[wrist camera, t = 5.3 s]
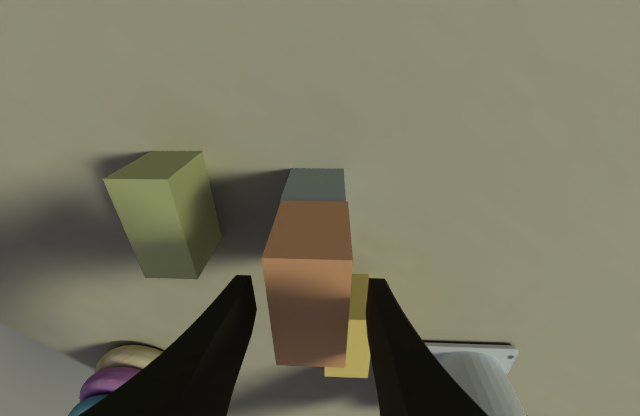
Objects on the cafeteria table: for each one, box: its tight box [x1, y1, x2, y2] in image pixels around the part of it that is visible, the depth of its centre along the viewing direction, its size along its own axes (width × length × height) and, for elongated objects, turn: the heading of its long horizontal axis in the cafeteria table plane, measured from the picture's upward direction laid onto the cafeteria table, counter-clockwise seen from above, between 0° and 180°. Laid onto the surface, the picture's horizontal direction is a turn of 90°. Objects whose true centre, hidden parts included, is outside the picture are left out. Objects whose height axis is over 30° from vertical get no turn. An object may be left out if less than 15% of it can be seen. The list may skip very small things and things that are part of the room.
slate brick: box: [280, 168, 346, 203], centre depth 16 cm, size 6×3×4 cm, turn 1°
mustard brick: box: [325, 274, 371, 378], centre depth 20 cm, size 6×3×4 cm, turn 1°
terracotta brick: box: [262, 200, 353, 368], centre depth 12 cm, size 6×3×4 cm, turn 0°
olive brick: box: [103, 151, 222, 279], centre depth 16 cm, size 6×3×4 cm, turn 1°
